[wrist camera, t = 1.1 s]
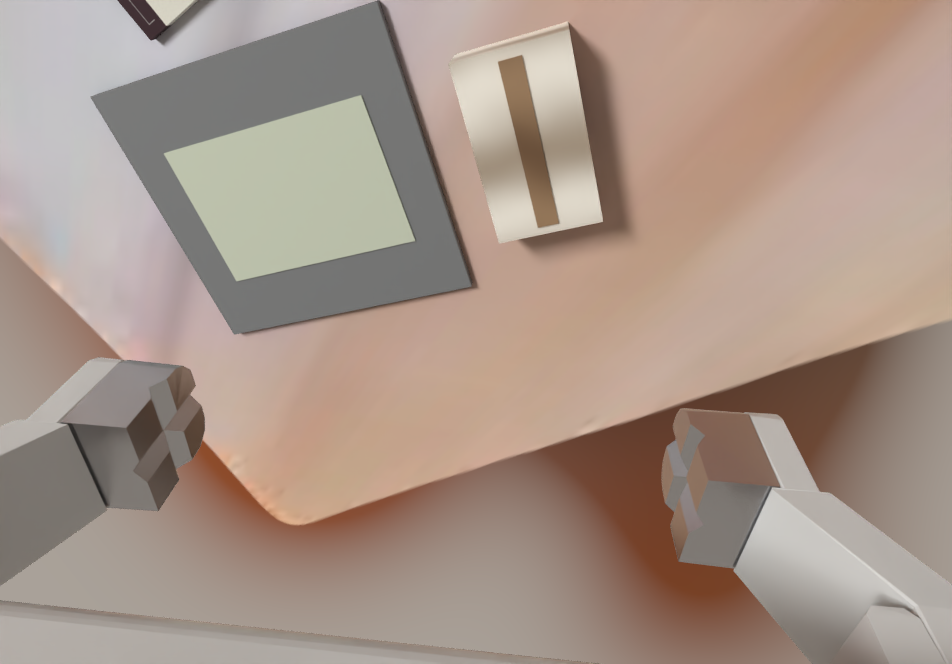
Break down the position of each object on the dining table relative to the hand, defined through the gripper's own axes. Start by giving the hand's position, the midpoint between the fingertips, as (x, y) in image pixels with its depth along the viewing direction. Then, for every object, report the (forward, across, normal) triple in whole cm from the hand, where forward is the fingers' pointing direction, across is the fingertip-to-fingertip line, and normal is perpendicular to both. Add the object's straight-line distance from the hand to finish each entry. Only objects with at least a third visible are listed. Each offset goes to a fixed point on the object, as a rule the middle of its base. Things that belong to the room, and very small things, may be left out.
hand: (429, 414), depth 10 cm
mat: (+27, +12, +7) cm, 31 cm away
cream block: (+27, -2, +3) cm, 27 cm away
